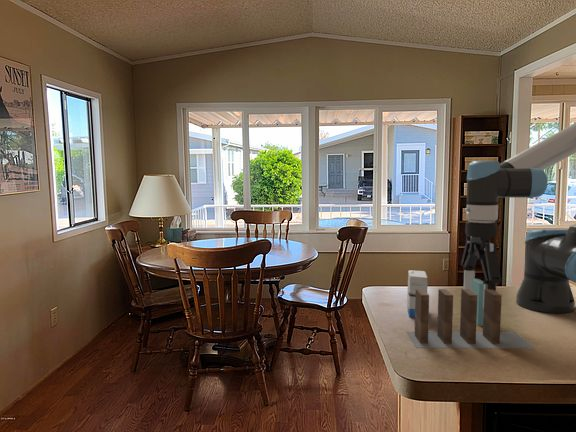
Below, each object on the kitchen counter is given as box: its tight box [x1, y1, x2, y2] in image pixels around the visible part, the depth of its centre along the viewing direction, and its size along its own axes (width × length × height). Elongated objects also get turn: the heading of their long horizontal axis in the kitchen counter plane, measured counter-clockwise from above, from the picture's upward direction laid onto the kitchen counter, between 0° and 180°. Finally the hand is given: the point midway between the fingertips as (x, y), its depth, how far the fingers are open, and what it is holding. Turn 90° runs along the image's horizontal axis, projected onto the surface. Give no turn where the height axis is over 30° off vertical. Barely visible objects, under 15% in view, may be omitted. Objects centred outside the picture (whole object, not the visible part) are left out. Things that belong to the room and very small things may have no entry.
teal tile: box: [471, 278, 484, 327], centre depth 117 cm, size 2×5×12 cm, turn 178°
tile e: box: [414, 289, 430, 344], centre depth 106 cm, size 2×5×12 cm, turn 178°
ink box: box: [406, 269, 428, 318], centre depth 125 cm, size 8×5×12 cm, turn 168°
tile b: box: [482, 289, 503, 344], centre depth 105 cm, size 2×5×12 cm, turn 178°
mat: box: [405, 331, 536, 349], centre depth 106 cm, size 27×10×1 cm, turn 88°
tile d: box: [436, 288, 454, 344], centre depth 105 cm, size 2×5×12 cm, turn 178°
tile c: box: [459, 288, 477, 344], centre depth 105 cm, size 2×5×12 cm, turn 178°
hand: (478, 300), depth 117 cm, fingers open, 13 cm apart
